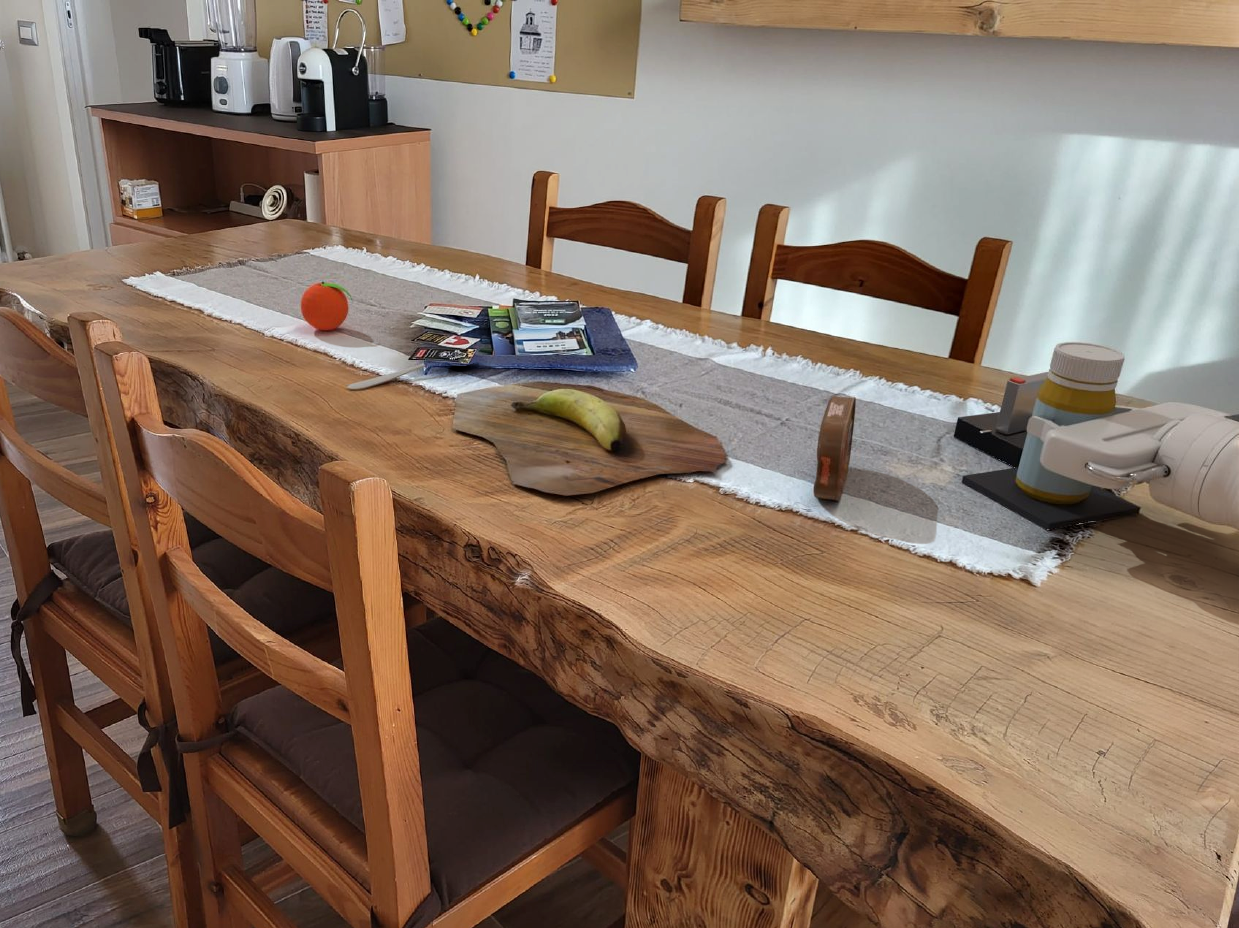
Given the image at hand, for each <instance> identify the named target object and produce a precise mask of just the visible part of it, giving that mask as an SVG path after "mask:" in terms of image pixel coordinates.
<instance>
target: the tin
mask: <svg viewBox="0 0 1239 928" xmlns="http://www.w3.org/2000/svg"><path fill="white" fill-rule="evenodd" d="M856 403H857V400H856V397H855V396H853V397H844V396H831V397H830V398H829V400H828V402H827V405H826V408H825V410H824V413H823V416H822V420H821V423H820V427H819V433H818V438H817V446H816V460H817V461H816V463H817V465H816V477H815V482H814V484H813V497H815V498H817V499H823V500H832V501H837V502H840V501H841V500H842V496H843V491H844V488H845V484H846V480H847V475H848V472H849V466H850V460H851V454H852V453H851V452H852V445H853V437H854V436H853V435H854V428H855V419H856V406H857V405H856Z"/></svg>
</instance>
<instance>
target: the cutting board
mask: <svg viewBox="0 0 1239 928" xmlns="http://www.w3.org/2000/svg"><path fill="white" fill-rule="evenodd" d="M454 406H455V407H454V414H453V420H452V430H456V431H459V432H463V433H467V434H469V435H472V436H473V435H474V436H478V437H482V438H483V439H485V440H487V441H489V442H491V443H493V444H494V446H495V448H496V449H497V451H498V453H499V454H500V456H502V458H503V459H504V460H505V463H506V466H507V470H508V471H507V472H508V475H509V478H510V480H511V482H512V484H513V485H516V486H521V487H524V488H528V489H534V490H537V491H540V492H544V493H548V494H556V495H561V496H566V497H567V496H575V495H585V494H595V493H597V492H600V491H603V490H607V489H610V488H613V487H617V486H619V485H622V484H627V483H629V482H632V481H638V480H641V479H645V478H648V477H653V476H658V475H664V474H667V475H669V474H691V473H693V472H712V473H718V470H717V468H718V467H719V466H721V465H722V464H724V463H725V462H727V461H728V460H729V458H728V455H727V454H726V452H725V450H724V449H723V446H722V444H721V442H720V440H719V438H718V437H717V436H716V435H713V434H711V433H710V432H709V433H708V432H706V431H705V430H702V429H701V428H698V427H695V426H694V425H691V424H690V423H688V422H687V421H685V420H682V419H681V418H679V417H677V416H675V415H674V414H672V413H671V412H669V411H668V410H666V409H664V408H663V407H661V406H660V405H658V404H656V403H654V402H652V401H649V400H647V399H645V398H643V397H639V396H635V395H631V394H626V393H622V392H618V391H614V390H608V389H605V388H602V387H599V386H595V385H591V384H586V385H585V384H577V383H576V384H573V383H561V382H549V381H541V380H540V381H539V380H538V381H531V382H530V381H529V382H522V383H514V384H513V383H512V384H506V385H498V386H490V387H485V388H481V389H475V390H471V391H465V392H460V393H457V394H456V400H455V405H454Z"/></svg>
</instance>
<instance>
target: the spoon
mask: <svg viewBox="0 0 1239 928" xmlns="http://www.w3.org/2000/svg"><path fill="white" fill-rule="evenodd" d="M425 367H426V366H425V365H424V364H423V363H420V364H417V365H414V366H410V367H407V368H404V369H401V370H397V371H394V372H391V373H387V374H384V375H381V376H377V377H373V378H369V379H365V380H362V381H357V382H354V383H351V384H348V385H347V386H346V388H347V390H350V391H359V390H364V389H368V388H371V387H374V386H378V385H381V384H384V383H387V382H390V381H393V380H395V379H398V378H399V377H402V376H405V375H407V374H409V373H411V372H414V371H417V370H419V369H423V368H425Z"/></svg>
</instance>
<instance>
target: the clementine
mask: <svg viewBox="0 0 1239 928" xmlns="http://www.w3.org/2000/svg"><path fill="white" fill-rule="evenodd" d="M344 292H345V293H346V294H347V295H348V296H349V298H350V299H351V301H352V303H353V304H354V300H353V298H352V295H351V294H350V293H349V291H348V290H347V289H345V288H344V287H343V286H340V285H338V284H336V283H331V282H325V281H321V282H317V283H313V284H312V285H311V286H309V287H308V288H307V289H306V290H305V291H304V293H303V294H302V297H301V299H300V311H301V316H302V317H303V318H304V320H305V321H306V323H307V324H308V325H309V326H311V327H312V328H314V329H316V330H320V331H323V332H324V331H325V332H326V331H331V330H336V329H337V328H339V327H340V326H341V325H343V323H344V322H345V321H346V319H347V317H348V314H349V302H348V298H347V296H346V294H345V293H344Z"/></svg>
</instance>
